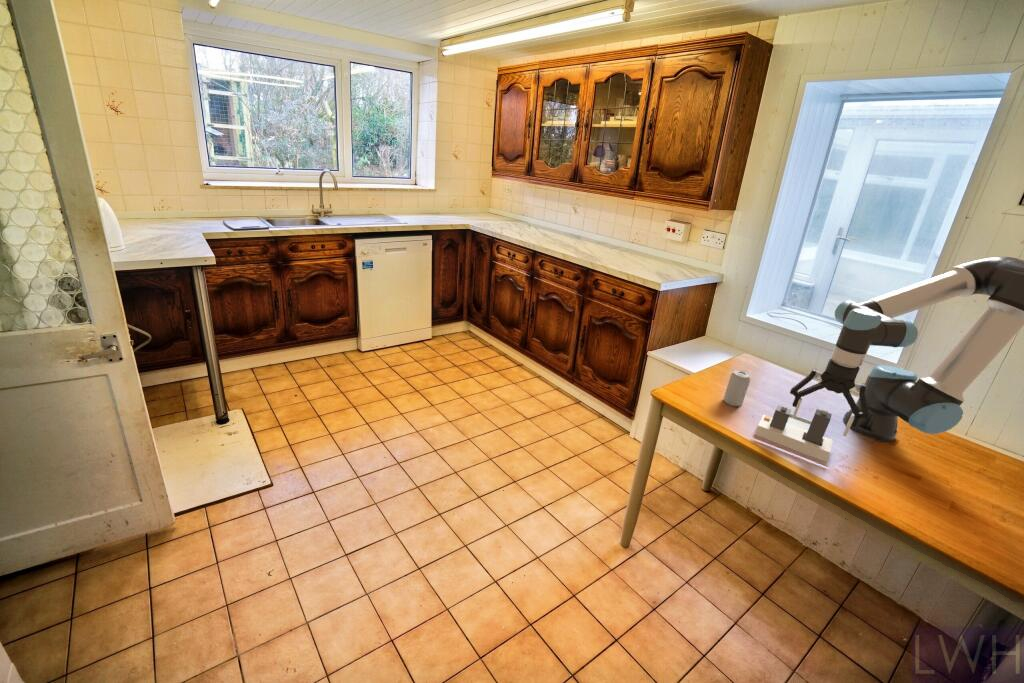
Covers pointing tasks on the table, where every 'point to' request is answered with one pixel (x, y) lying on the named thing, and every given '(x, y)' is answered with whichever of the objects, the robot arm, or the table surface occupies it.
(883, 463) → the table surface
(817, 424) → the plug
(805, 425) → the tray
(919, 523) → the table surface
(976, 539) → the table surface
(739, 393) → the beverage can
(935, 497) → the table surface
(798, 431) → the strip
